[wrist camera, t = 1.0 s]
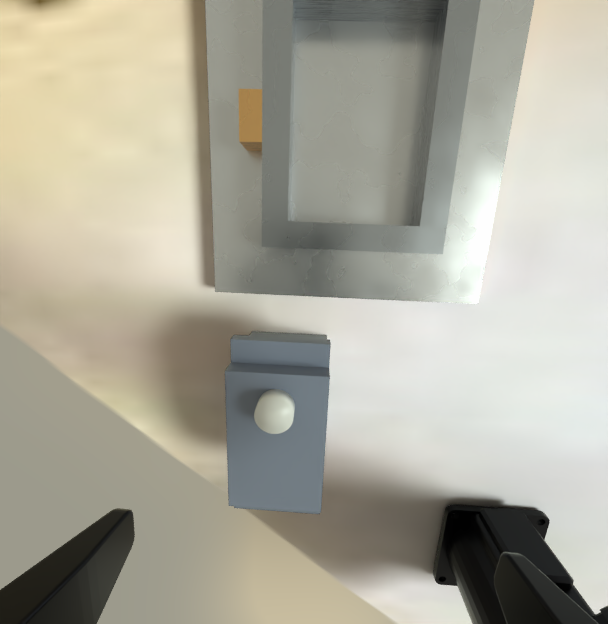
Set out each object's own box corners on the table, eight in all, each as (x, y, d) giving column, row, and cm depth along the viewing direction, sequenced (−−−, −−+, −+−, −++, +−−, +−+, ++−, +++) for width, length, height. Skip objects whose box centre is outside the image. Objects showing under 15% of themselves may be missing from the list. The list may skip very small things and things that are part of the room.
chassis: (469, 300, 17) (494, 310, 14) (220, 288, 17) (205, 297, 15) (533, -66, 13) (582, -135, 11) (210, -68, 13) (186, -135, 11)
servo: (319, 451, 20) (319, 547, 14) (253, 447, 20) (224, 540, 14) (327, 316, 18) (332, 360, 12) (252, 313, 18) (217, 353, 12)
